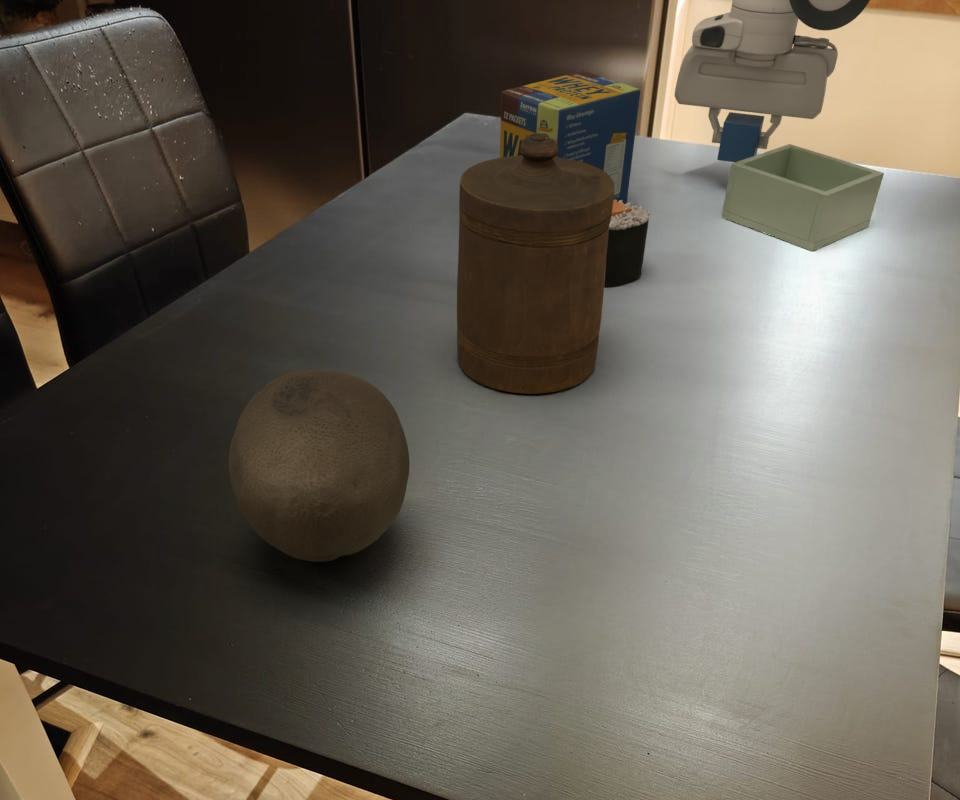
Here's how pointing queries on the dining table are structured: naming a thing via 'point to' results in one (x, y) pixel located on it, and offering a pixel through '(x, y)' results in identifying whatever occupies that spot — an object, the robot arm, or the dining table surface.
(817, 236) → the green storage bin
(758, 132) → the block
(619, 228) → the sushi
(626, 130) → the protein box
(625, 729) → the dining table surface
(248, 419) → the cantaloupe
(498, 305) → the wooden container
